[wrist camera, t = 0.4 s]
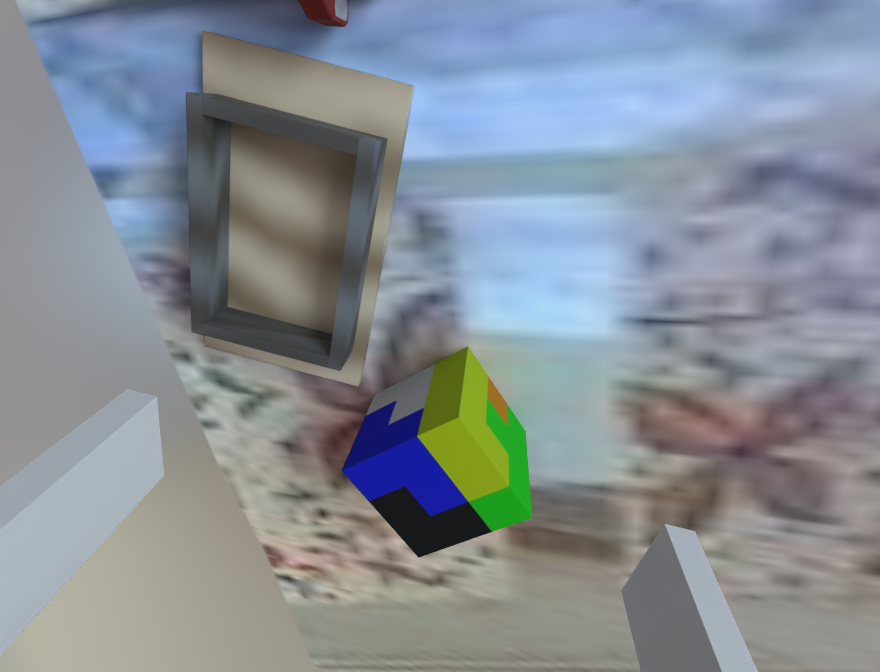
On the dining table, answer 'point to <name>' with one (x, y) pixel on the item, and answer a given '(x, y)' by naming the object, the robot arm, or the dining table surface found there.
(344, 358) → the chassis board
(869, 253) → the dining table surface
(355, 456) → the puzzle toy
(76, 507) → the robot arm
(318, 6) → the toy fire truck
